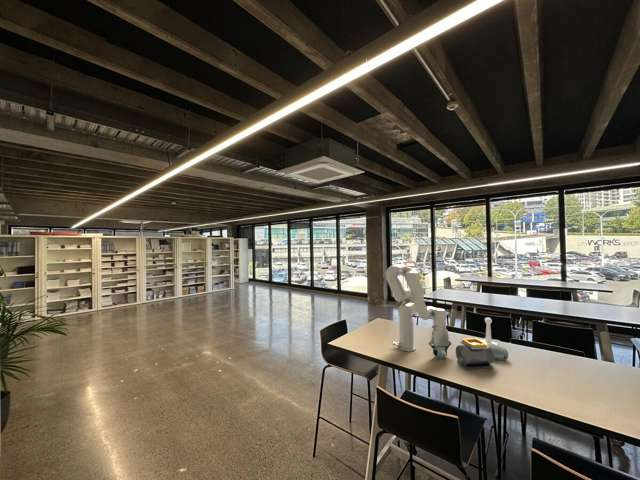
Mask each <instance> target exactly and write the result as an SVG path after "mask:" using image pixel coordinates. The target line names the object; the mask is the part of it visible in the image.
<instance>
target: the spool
mask: <svg viewBox="0 0 640 480" xmlns="http://www.w3.org/2000/svg"><path fill="white" fill-rule="evenodd" d="M488 346H489V347H490V348H491V349H492V351H493V353H494V360H497V361H507V360H508V359H509V352H508V350H507V349H506V348H505V347H503V346H499V345H498V346H496V345H488Z"/></svg>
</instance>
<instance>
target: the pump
mask: <svg viewBox="0 0 640 480" xmlns="http://www.w3.org/2000/svg"><path fill="white" fill-rule="evenodd" d="M436 350H437V356H435V355H434V357H435V358H438V359H446V356H445V355H446V352H445V346H437V348H436Z"/></svg>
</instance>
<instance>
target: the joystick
mask: <svg viewBox="0 0 640 480" xmlns="http://www.w3.org/2000/svg"><path fill="white" fill-rule="evenodd" d="M492 322H493V320H492V318H491V317H485V318H484V323H486V324H485V325H486V328H485V339H479V340H480V341H482V342H484V343H486V344H487V345H496V346H499V344H498V342H494V341H492V329H491V324H492Z"/></svg>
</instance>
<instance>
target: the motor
mask: <svg viewBox="0 0 640 480" xmlns="http://www.w3.org/2000/svg"><path fill="white" fill-rule="evenodd" d="M480 340H481V339H479V338H476V337H475V338H462V339H461V340H460V341H459V342H460V344H461V345H457V346H456V347H455V355H456V363H457V364H459V365H460V366H461V367H462V368H465V370H467V371H469V370H470V371H471V370H489V369H491V370H493V369H494V366H493V365H492V364H493V363H494V361H495V359H494V353H493V351H492V349H491V348H490V347H489V346H488V345H487V344H486V343H484V342H482V341H480Z"/></svg>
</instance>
